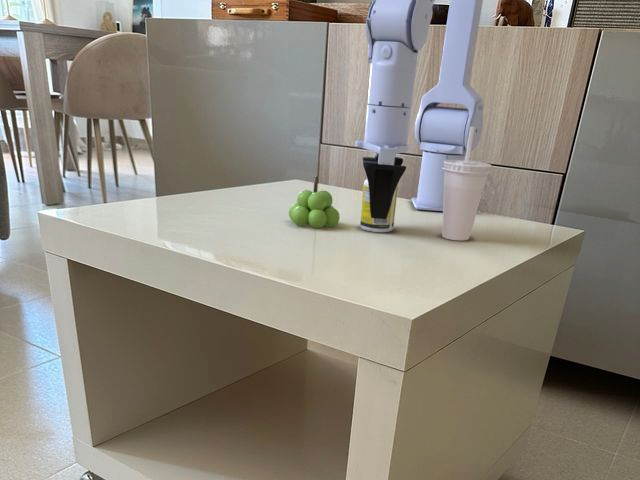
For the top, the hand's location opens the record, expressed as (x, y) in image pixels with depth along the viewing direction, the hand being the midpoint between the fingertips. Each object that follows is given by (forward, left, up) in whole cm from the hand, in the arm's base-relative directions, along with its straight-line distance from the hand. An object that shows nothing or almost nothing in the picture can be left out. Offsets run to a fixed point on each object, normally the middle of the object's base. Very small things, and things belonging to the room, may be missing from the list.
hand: (378, 214), depth 88 cm
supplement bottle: (0, 0, -2) cm, 2 cm away
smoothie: (+2, +11, -2) cm, 11 cm away
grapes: (0, -9, -2) cm, 9 cm away
